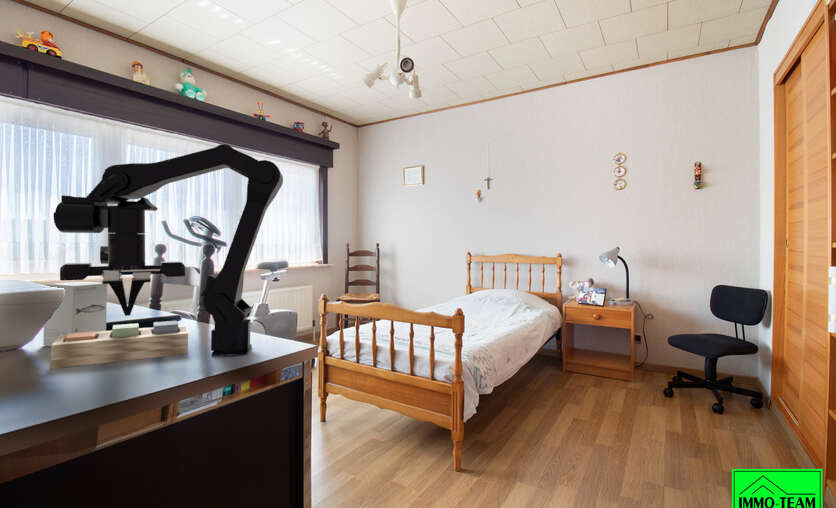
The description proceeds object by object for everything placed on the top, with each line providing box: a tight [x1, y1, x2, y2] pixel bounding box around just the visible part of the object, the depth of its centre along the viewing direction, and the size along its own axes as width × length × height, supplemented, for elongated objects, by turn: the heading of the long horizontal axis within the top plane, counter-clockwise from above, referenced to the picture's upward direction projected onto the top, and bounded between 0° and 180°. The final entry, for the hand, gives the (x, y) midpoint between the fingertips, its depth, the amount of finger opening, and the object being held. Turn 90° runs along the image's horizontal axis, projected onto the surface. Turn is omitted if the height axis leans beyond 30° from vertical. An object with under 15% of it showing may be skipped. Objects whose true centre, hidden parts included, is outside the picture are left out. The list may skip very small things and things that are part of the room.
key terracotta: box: [66, 331, 97, 341], centre depth 73 cm, size 4×4×2 cm
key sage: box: [111, 322, 140, 338], centre depth 76 cm, size 4×4×2 cm
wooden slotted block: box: [50, 324, 189, 370], centre depth 77 cm, size 20×9×4 cm, turn 125°
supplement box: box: [42, 281, 108, 347], centre depth 83 cm, size 7×7×13 cm
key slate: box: [152, 320, 179, 334], centre depth 80 cm, size 4×4×2 cm
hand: (127, 315), depth 76 cm, fingers closed
